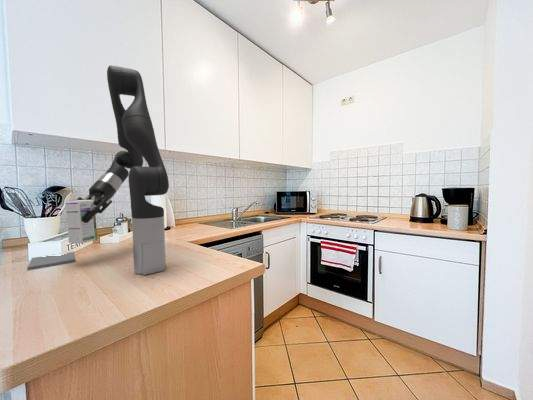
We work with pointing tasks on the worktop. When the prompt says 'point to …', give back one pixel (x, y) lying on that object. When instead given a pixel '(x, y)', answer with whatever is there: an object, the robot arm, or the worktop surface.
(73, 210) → the syrup box
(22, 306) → the worktop surface
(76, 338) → the worktop surface
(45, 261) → the mat
